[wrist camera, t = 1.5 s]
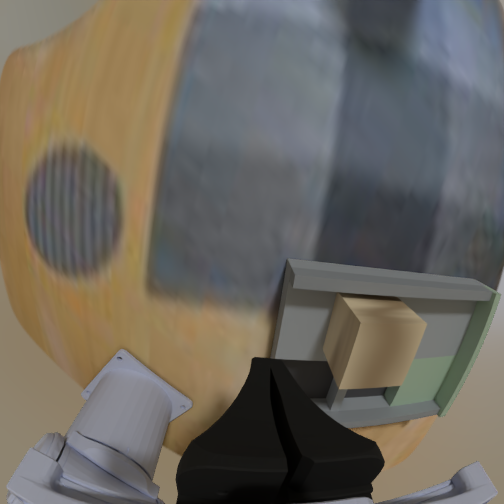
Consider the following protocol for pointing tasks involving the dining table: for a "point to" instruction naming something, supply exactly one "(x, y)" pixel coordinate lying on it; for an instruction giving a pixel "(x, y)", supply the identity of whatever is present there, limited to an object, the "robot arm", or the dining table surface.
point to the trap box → (427, 356)
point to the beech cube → (371, 340)
